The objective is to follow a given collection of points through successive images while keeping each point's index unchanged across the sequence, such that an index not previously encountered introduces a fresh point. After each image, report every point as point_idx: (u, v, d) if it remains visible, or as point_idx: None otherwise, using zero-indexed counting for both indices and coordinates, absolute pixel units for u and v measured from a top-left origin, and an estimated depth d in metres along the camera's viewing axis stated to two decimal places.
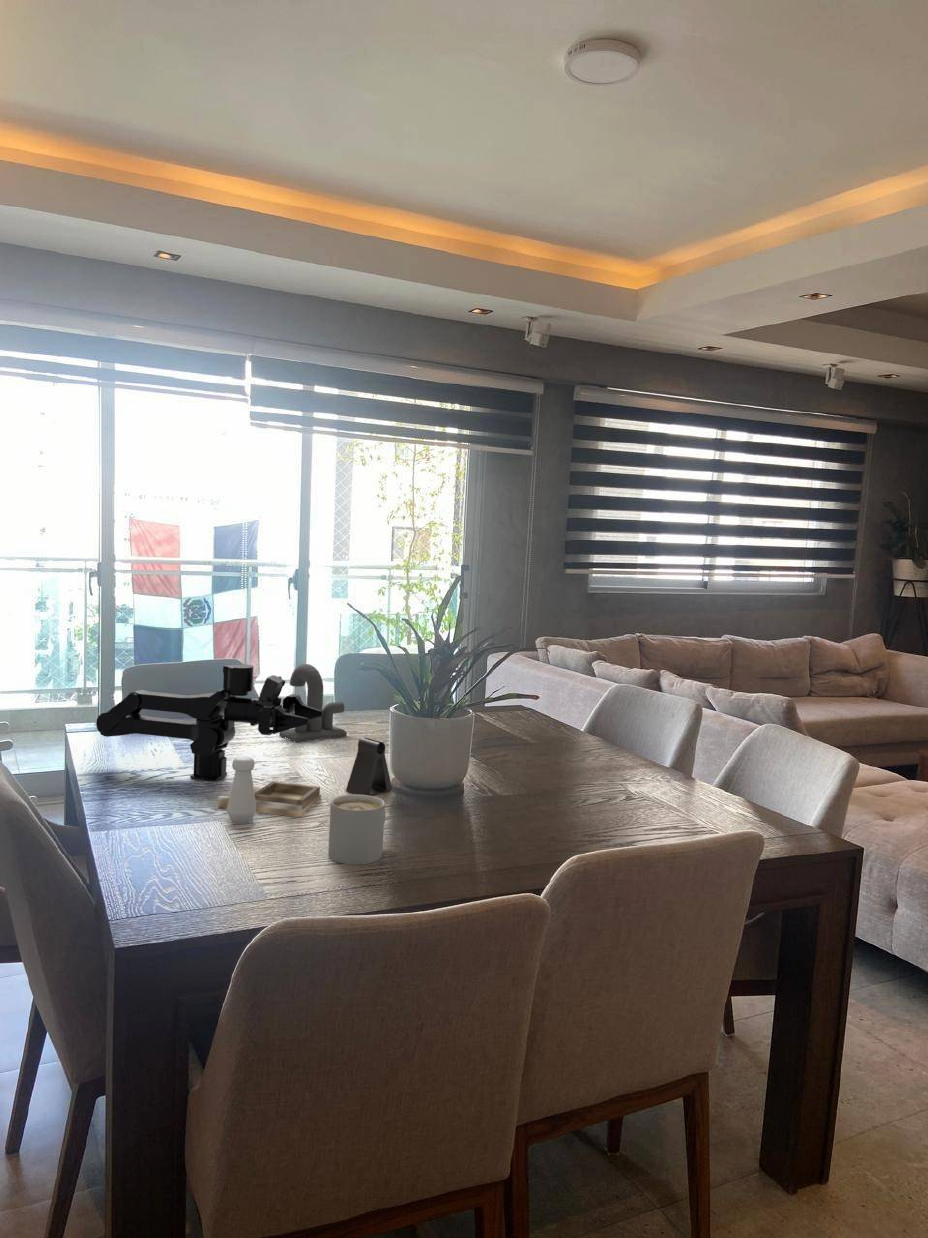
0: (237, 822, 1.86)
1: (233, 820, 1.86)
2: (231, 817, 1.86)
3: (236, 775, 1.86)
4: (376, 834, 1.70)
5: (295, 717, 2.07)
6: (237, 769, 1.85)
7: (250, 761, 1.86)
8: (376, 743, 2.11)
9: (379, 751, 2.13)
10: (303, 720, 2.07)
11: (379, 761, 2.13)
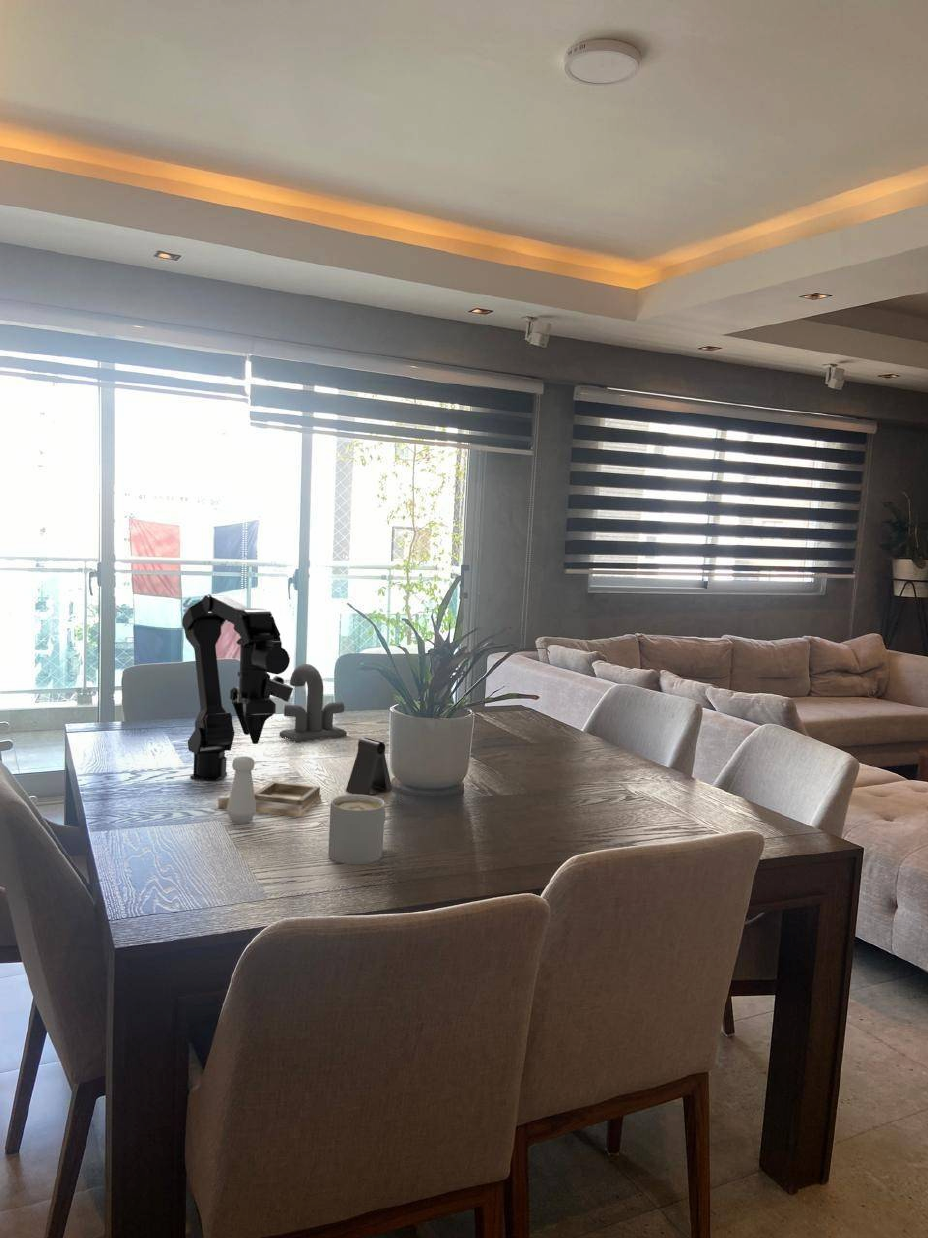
0: (237, 822, 1.86)
1: (233, 820, 1.86)
2: (231, 817, 1.86)
3: (236, 775, 1.86)
4: (376, 834, 1.70)
5: (260, 731, 1.98)
6: (237, 769, 1.85)
7: (250, 762, 1.86)
8: (376, 743, 2.11)
9: (379, 751, 2.13)
10: (256, 739, 1.98)
11: (379, 761, 2.13)
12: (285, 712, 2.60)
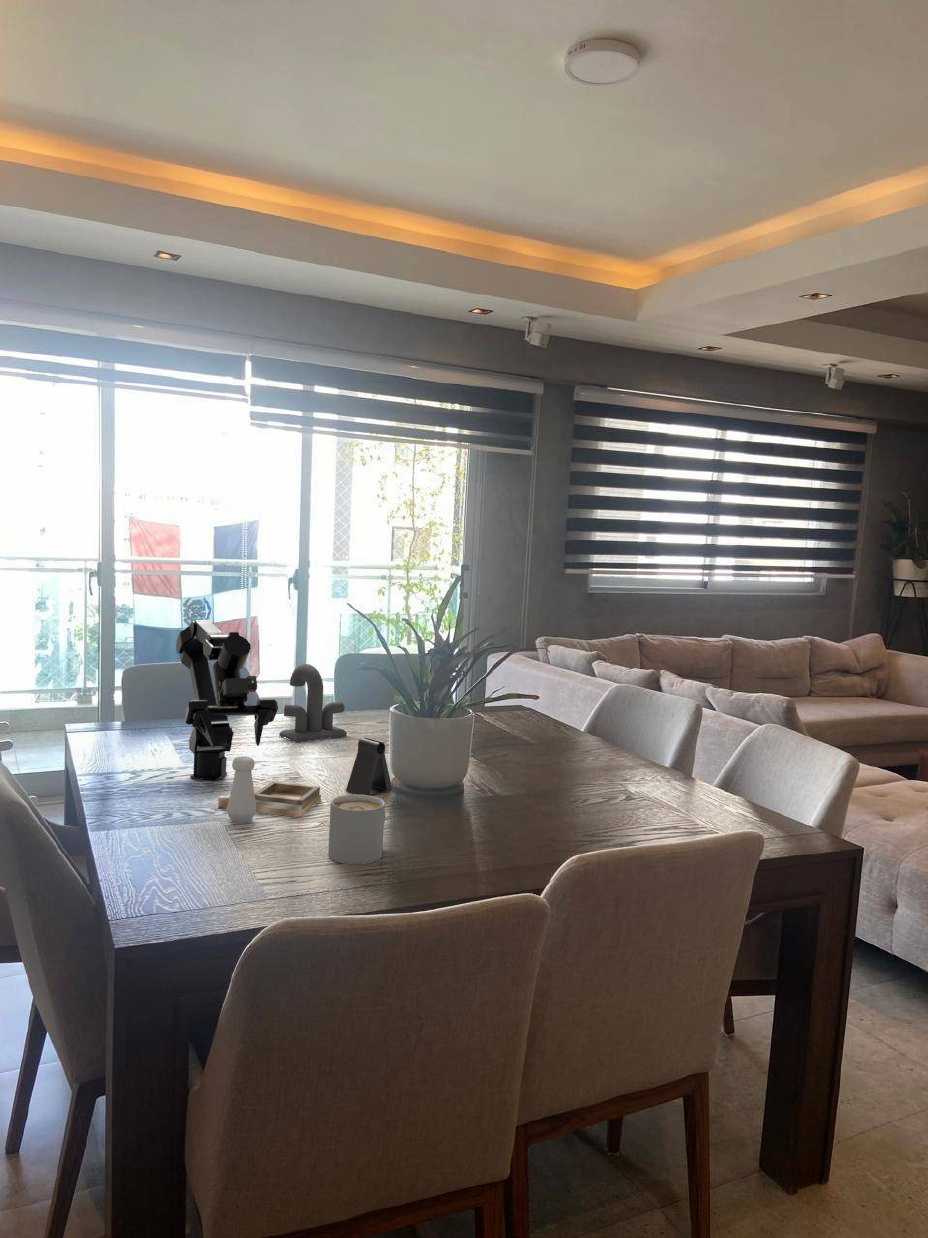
0: (237, 822, 1.86)
1: (233, 820, 1.86)
2: (231, 817, 1.86)
3: (236, 775, 1.86)
4: (376, 834, 1.70)
5: (208, 732, 1.93)
6: (237, 769, 1.85)
7: (250, 761, 1.86)
8: (376, 743, 2.11)
9: (379, 751, 2.13)
10: (210, 741, 1.93)
11: (379, 761, 2.13)
12: (285, 712, 2.60)
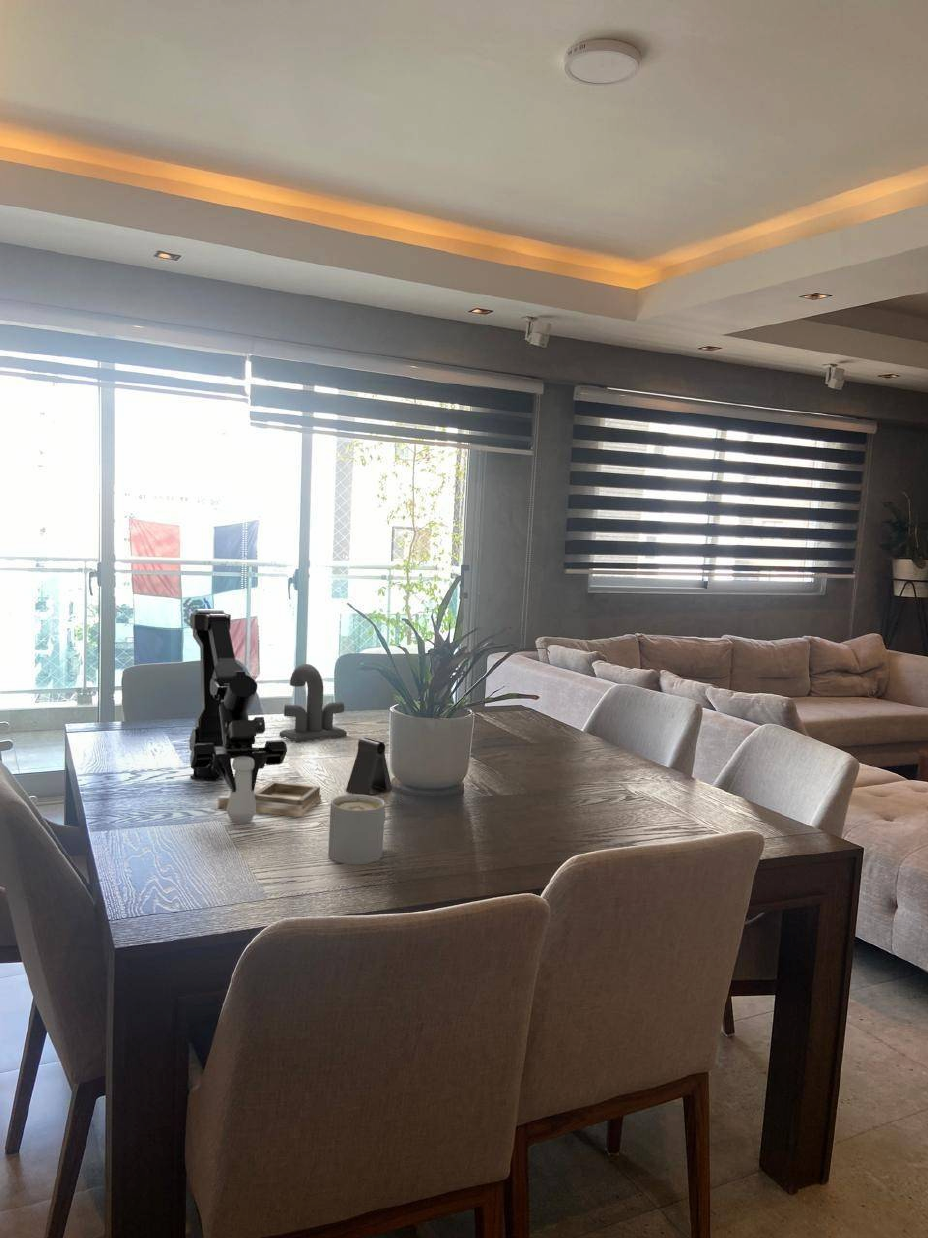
0: (237, 822, 1.86)
1: (233, 820, 1.86)
2: (231, 817, 1.86)
3: (236, 775, 1.86)
4: (376, 834, 1.70)
5: (229, 776, 1.86)
6: (237, 769, 1.85)
7: (250, 761, 1.86)
8: (376, 743, 2.11)
9: (379, 751, 2.13)
10: (231, 786, 1.86)
11: (379, 761, 2.13)
12: (285, 712, 2.60)
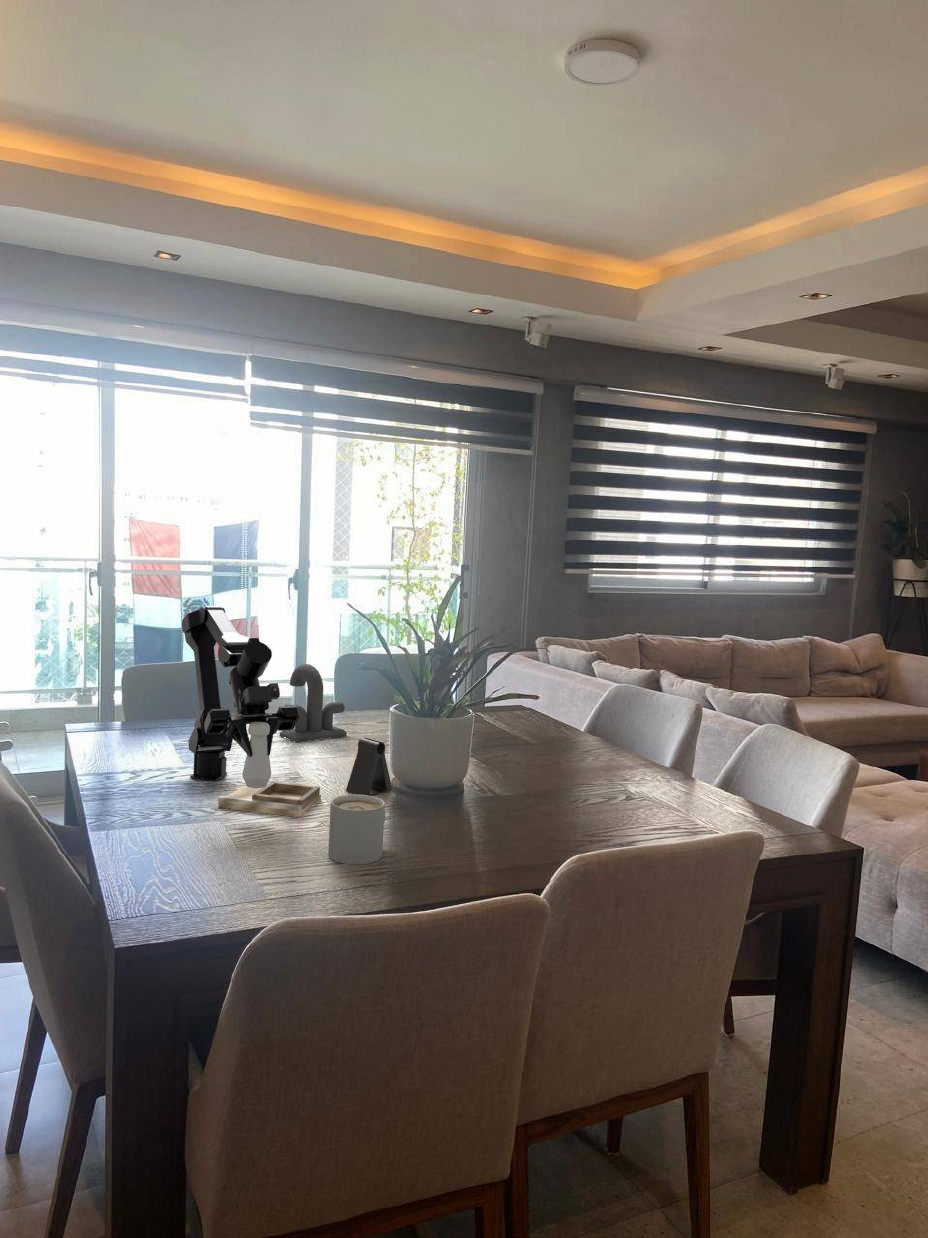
0: (253, 786, 1.89)
1: (249, 784, 1.89)
2: (247, 781, 1.88)
3: (252, 740, 1.88)
4: (376, 834, 1.70)
5: (245, 742, 1.88)
6: (254, 734, 1.87)
7: (267, 727, 1.88)
8: (376, 743, 2.11)
9: (379, 751, 2.13)
10: (247, 751, 1.88)
11: (379, 761, 2.13)
12: None
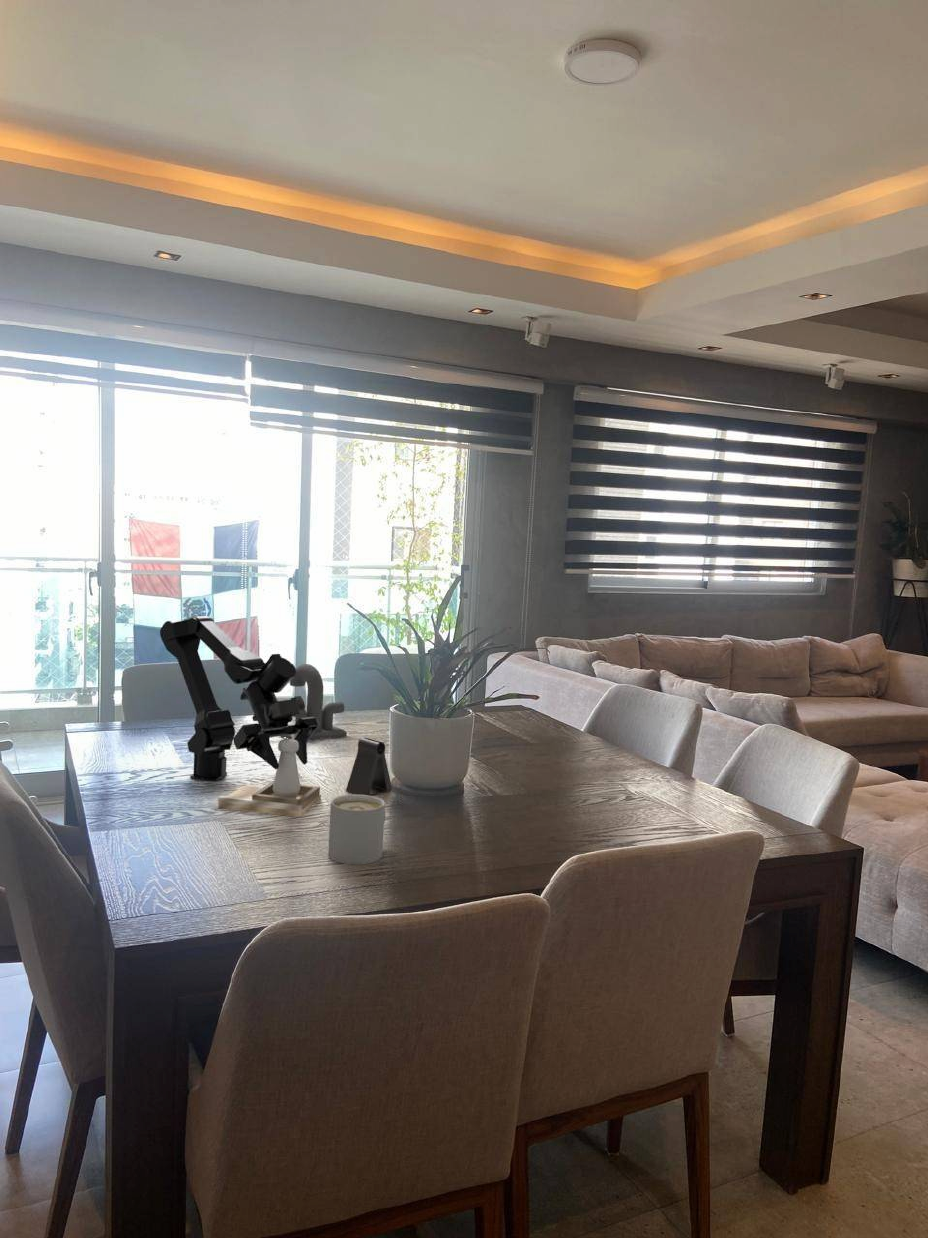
0: None
1: None
2: (280, 796, 1.98)
3: (284, 756, 1.98)
4: (376, 834, 1.70)
5: (270, 755, 1.96)
6: (287, 751, 1.97)
7: (297, 743, 1.99)
8: (376, 743, 2.11)
9: (379, 751, 2.13)
10: (273, 763, 1.96)
11: (379, 761, 2.13)
12: None
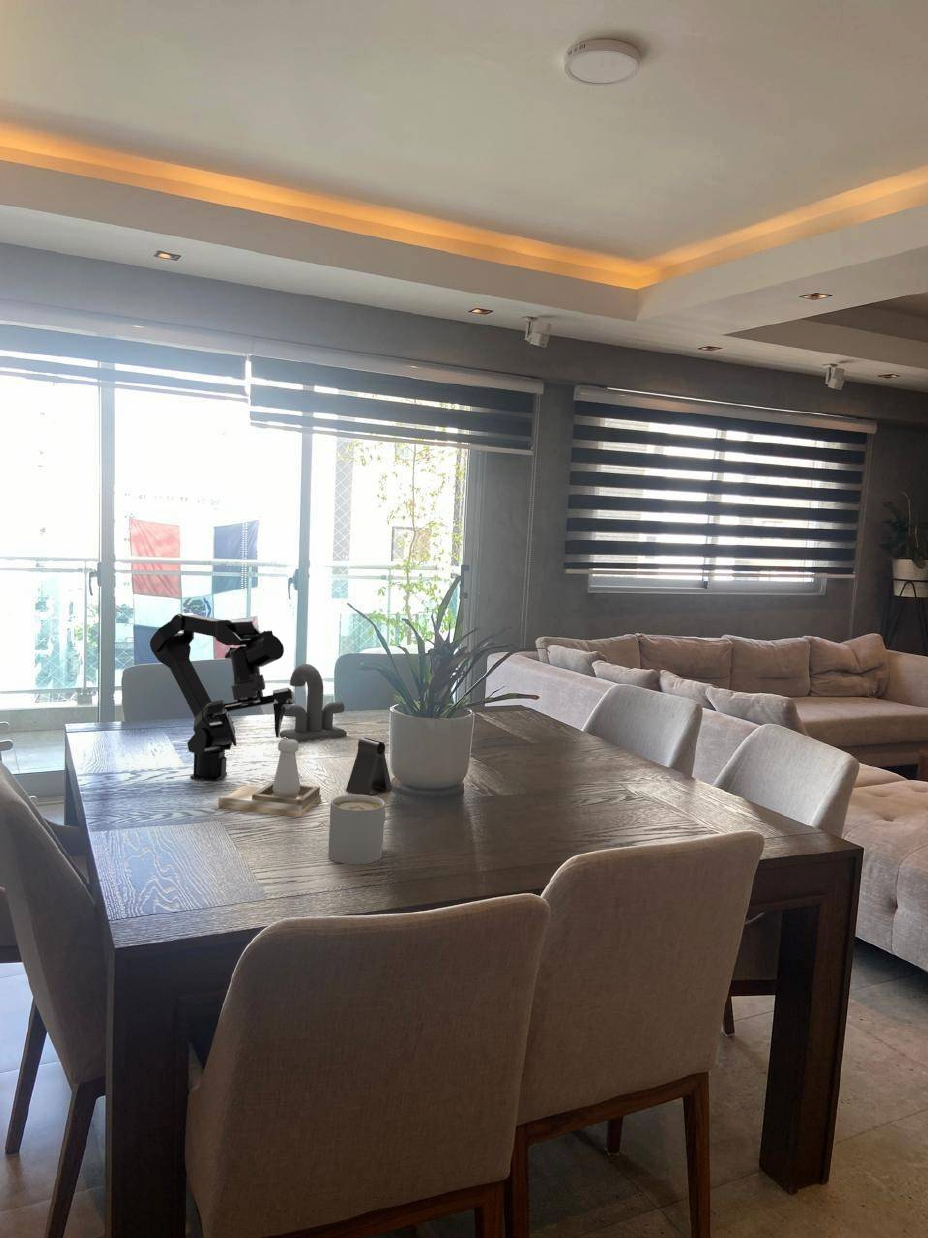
0: None
1: None
2: (280, 796, 1.98)
3: (284, 757, 1.98)
4: (376, 834, 1.70)
5: (228, 733, 2.04)
6: (287, 751, 1.97)
7: (297, 743, 1.99)
8: (376, 743, 2.11)
9: (379, 751, 2.13)
10: (232, 741, 2.04)
11: (379, 761, 2.13)
12: (285, 712, 2.60)
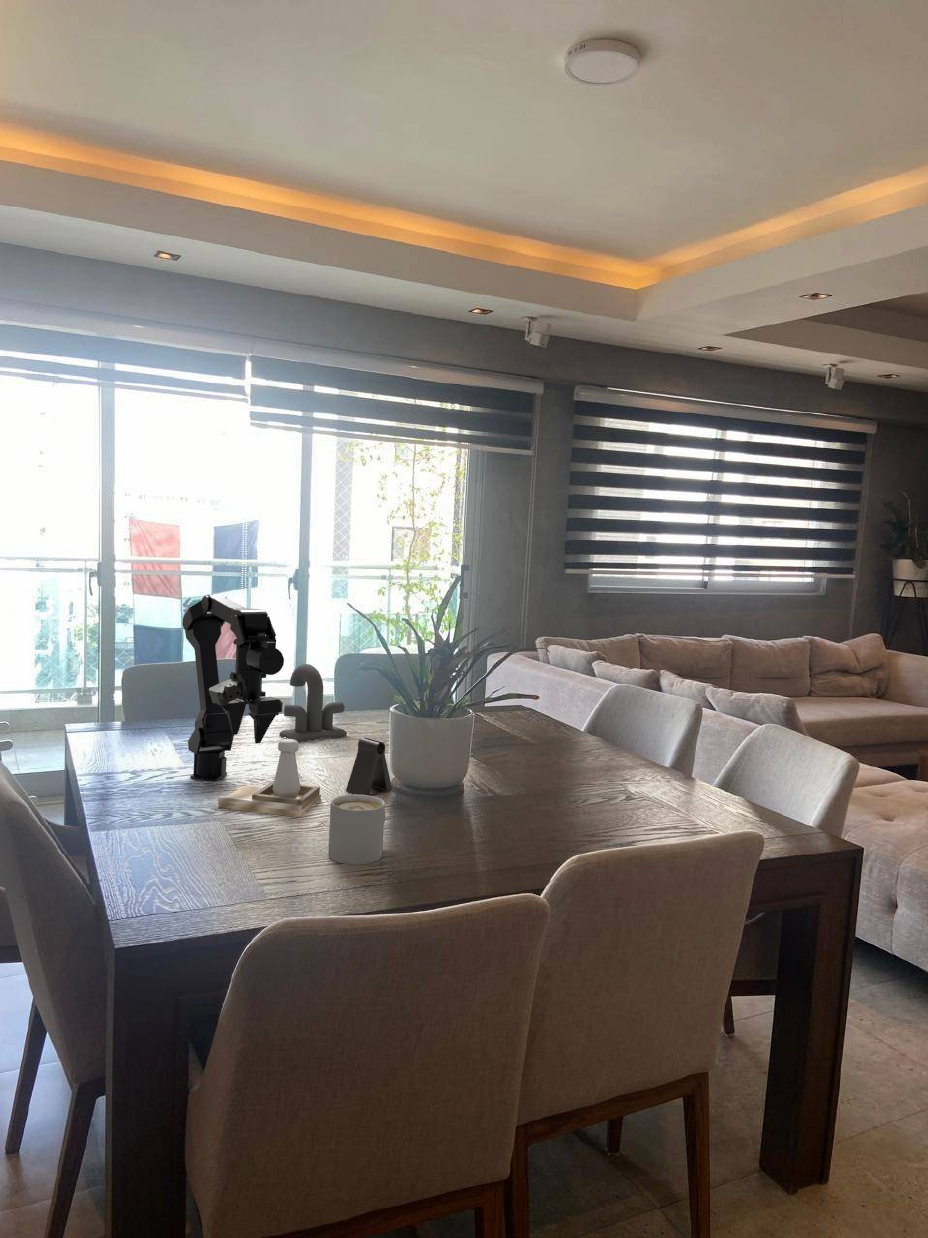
0: None
1: None
2: (280, 796, 1.98)
3: (284, 756, 1.98)
4: (376, 834, 1.70)
5: None
6: (287, 751, 1.97)
7: (297, 743, 1.99)
8: (376, 743, 2.11)
9: (379, 751, 2.13)
10: None
11: (379, 761, 2.13)
12: (285, 712, 2.60)
